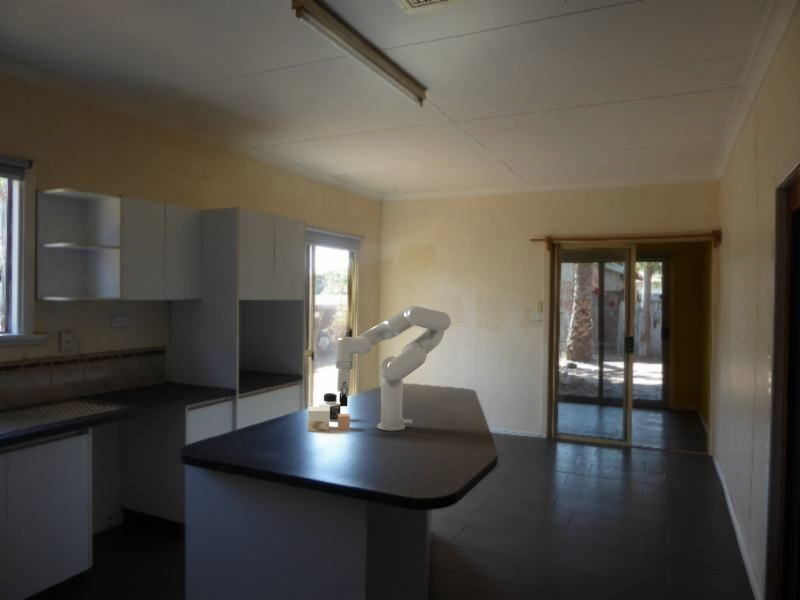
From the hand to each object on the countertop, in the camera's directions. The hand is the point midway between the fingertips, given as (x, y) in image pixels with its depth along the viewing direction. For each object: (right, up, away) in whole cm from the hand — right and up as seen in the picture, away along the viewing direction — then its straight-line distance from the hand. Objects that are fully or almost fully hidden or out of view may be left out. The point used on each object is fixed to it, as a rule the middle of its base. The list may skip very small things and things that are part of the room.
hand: (343, 404), depth 246 cm
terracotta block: (0, -11, 0) cm, 11 cm away
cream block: (-11, -6, -1) cm, 12 cm away
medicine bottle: (-8, -11, +18) cm, 23 cm away
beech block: (-11, -11, -1) cm, 15 cm away
